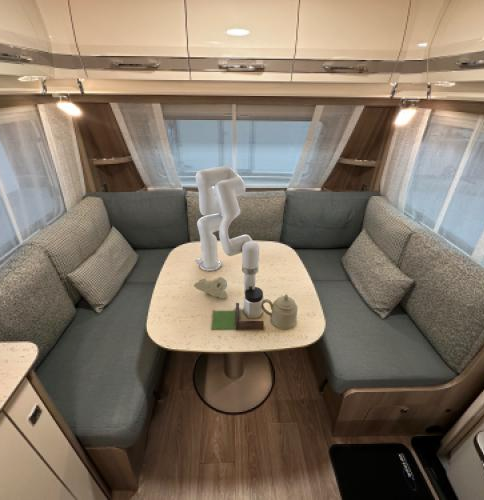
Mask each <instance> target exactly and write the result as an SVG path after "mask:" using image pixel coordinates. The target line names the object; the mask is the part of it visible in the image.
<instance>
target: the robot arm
mask: <svg viewBox="0 0 484 500" xmlns="http://www.w3.org/2000/svg"><path fill="white" fill-rule="evenodd" d="M195 183H196V187H197V190H198V206H199V212H200V214H201V215H202V217H200V218H199V219H198V220H197V222H196V226H197V231H198V234H199V241H200V253H201V257H199V258H194V262H195V263H196V265H199V268H200V269H201V270H203V271H206V272H215V271H216V270H219V269H220V268H221V266H222V262H221V261H220V259H219V251H218V250H219V249H218V238H219V241H220V244H221V247H222V250H223V253H224V254H225V255H226V256H228V257H233V256H237V255H239V254H241V272H242V273H243V293H245V291H246V290H249V289H252V290H253V289H255V287H256V276H257V274H259V267H260V265H259V264H260V245H259V244H258V243H257V242H255V241H254V240H253V238H252V237H251V236H250V235H249V234H242V235H239V236H235V237H232V238H230V237H229V227H230V225H231V223H232V222H233V221H234V220H235V219H236V218H238V216H240V215H241V214H242V213H241V212H242V211H241V208H240V204H239V201H238V197H241V196H243V195H245V193H246V189H247V188H246V184H245V182H244V180H243V178H242V177H241V176H240V174H238V173H237V172H236V171H235V170H234V169H233V168H232V167H230V166H228V165H223V166H216V167H209V168H203V169H199V170H198V171H197V172H195ZM216 232H218V238H217V236H216V235H215V234H214V233H216Z"/></svg>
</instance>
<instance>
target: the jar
mask: <svg viewBox="0 0 484 500" xmlns="http://www.w3.org/2000/svg"><path fill="white" fill-rule="evenodd" d="M264 298H265V297H264V291H263V289H261V288H260V287H258V286H255V289H253V290H252V289H249V290H246V291H245V292H244V296H243V313H244V314H245V315H246V317H248V318H249V319H258V318H260V316H261V315H262V314H263V312H264V311H263V309H262V307H261V304H262V301H263V300H265V299H264Z"/></svg>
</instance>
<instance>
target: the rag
mask: <svg viewBox="0 0 484 500" xmlns="http://www.w3.org/2000/svg"><path fill="white" fill-rule="evenodd" d="M211 330H236V310H213V316H212V324H211Z"/></svg>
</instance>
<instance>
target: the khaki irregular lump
mask: <svg viewBox="0 0 484 500" xmlns="http://www.w3.org/2000/svg"><path fill="white" fill-rule="evenodd" d="M193 287H194V288H195V289H197V290H199V291H201V292H203V293H204V294H205V295H210V296H212V297H213V298H217V299H222V300H227V299H228V294H227V291H226V289H227V287H228V281H227V280H226V278H224V277H222V276H220V277H217V278H215V279H213V280H211V279H210V280H207V279H206V277H204V278H202V279H199V280H198V281H197V282H195V283H194V284H193Z"/></svg>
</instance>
